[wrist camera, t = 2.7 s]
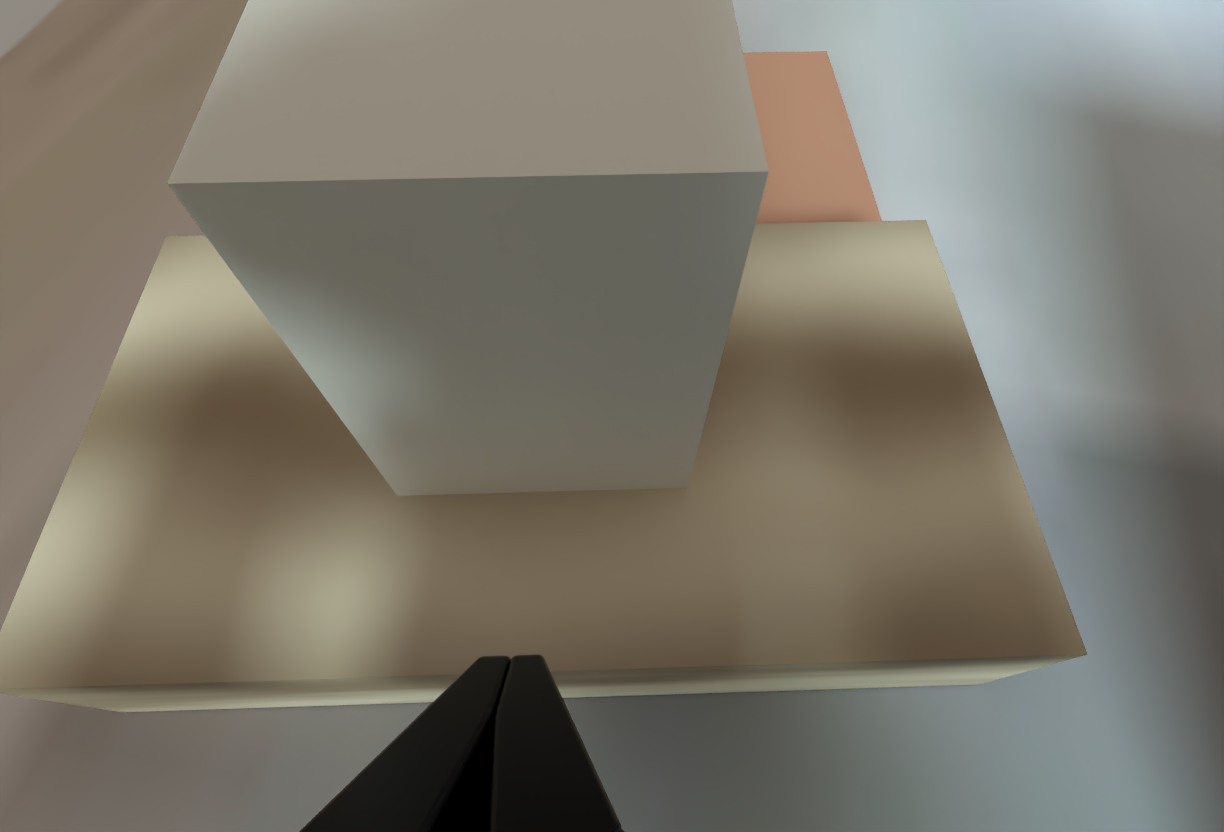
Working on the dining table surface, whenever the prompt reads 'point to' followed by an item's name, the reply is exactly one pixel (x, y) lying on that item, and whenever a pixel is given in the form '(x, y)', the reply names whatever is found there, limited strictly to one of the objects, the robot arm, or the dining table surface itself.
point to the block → (490, 225)
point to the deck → (548, 518)
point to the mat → (807, 142)
